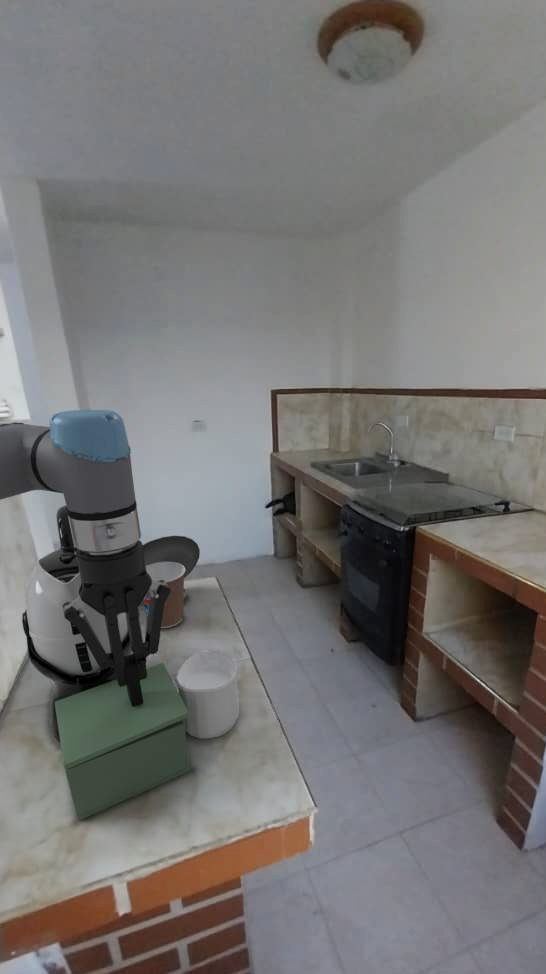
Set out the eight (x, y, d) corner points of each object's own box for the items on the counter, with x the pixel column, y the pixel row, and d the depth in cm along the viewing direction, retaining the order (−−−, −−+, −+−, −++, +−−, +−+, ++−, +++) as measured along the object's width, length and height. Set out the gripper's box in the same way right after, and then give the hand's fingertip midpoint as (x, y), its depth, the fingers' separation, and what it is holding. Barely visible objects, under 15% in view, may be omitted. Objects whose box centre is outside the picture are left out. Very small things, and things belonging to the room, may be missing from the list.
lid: (163, 666, 72) (163, 662, 72) (189, 717, 62) (188, 712, 62) (55, 705, 65) (54, 701, 65) (65, 770, 55) (63, 765, 55)
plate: (168, 528, 95) (164, 522, 96) (93, 591, 96) (90, 584, 97) (217, 557, 114) (214, 551, 115) (154, 609, 115) (151, 603, 116)
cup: (187, 749, 69) (181, 698, 65) (175, 706, 77) (169, 658, 74) (248, 730, 72) (245, 680, 69) (230, 690, 81) (227, 644, 77)
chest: (165, 715, 75) (159, 672, 72) (190, 771, 65) (184, 723, 62) (67, 752, 68) (55, 706, 65) (78, 821, 58) (65, 770, 55)
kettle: (51, 665, 87) (10, 505, 75) (137, 644, 93) (113, 493, 81) (44, 760, 67) (-13, 562, 55) (155, 726, 73) (127, 541, 61)
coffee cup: (138, 614, 104) (131, 566, 99) (184, 604, 108) (179, 557, 104) (146, 637, 95) (138, 586, 91) (195, 625, 100) (190, 576, 95)
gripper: (50, 567, 49) (89, 735, 58) (171, 543, 55) (189, 698, 64) (45, 544, 55) (81, 699, 64) (155, 525, 61) (174, 669, 70)
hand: (135, 699), depth 64 cm, fingers closed
